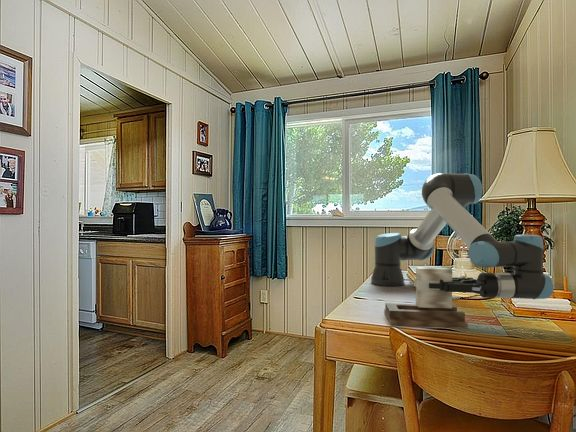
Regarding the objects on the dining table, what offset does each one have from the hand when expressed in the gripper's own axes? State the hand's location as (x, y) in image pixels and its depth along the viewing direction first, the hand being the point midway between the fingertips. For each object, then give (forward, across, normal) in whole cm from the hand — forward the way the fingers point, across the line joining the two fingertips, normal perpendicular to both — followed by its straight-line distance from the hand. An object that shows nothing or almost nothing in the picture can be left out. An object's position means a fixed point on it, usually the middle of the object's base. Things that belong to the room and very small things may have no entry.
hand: (415, 283), depth 118 cm
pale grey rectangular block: (-5, 0, -7) cm, 9 cm away
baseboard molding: (-29, +43, -12) cm, 53 cm away
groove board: (-2, 0, -11) cm, 12 cm away
